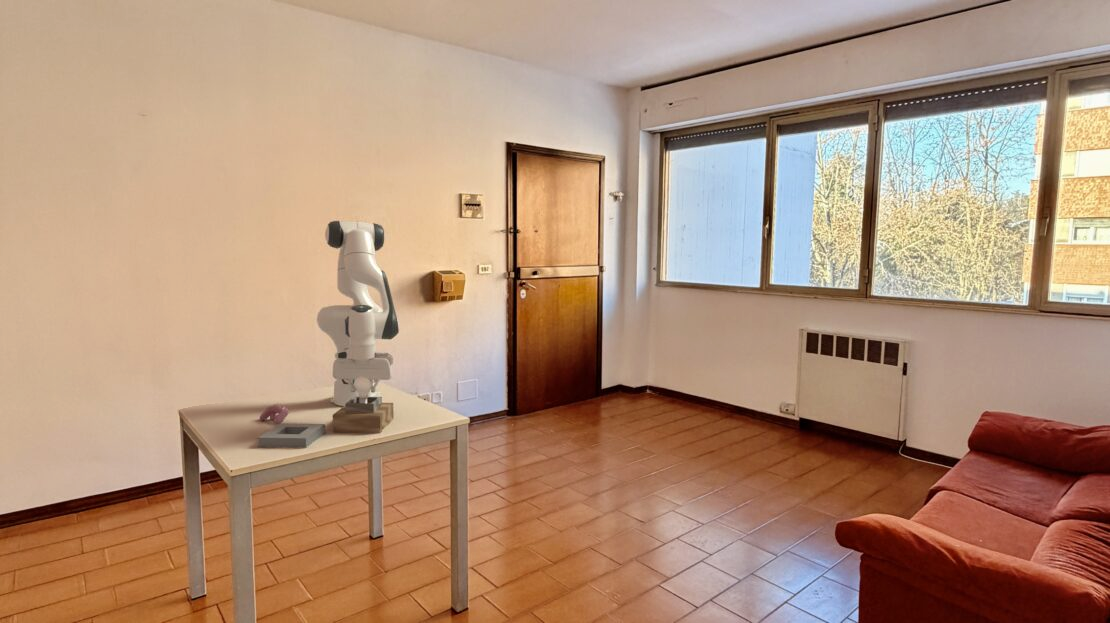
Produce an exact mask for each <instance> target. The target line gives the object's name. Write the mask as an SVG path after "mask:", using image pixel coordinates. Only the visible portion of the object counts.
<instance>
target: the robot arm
mask: <svg viewBox="0 0 1110 623" xmlns="http://www.w3.org/2000/svg"><path fill="white" fill-rule="evenodd" d="M324 237H325V238H324V239H325V240H326V244H327V245H328V246H329V247H330V248H333V249H337V250H338V249H339V253H338V258H337V259H338V260H337V274H336V275H337V278H336V280H337V281H336V282H337V284H336V285H337V290H338V292H339V293H341V294H342V295H344V296H345V297H348V298H350V299H352V302H353V304H350V305H349V304H348V305H347V304H345V305H343V304H342V305H341V304H339V305H336V304H334V305H329V306H324V307H322V308H321V309H320V310H319V311H318V313H317V317H316V323H317V326H318V328H319V329H320V331H321V332H323V333H324V334H326V335H327V336H329V337H330V339H331V340H332V342H333V344H334V345H335V348H336V352H335V353H334V358H335V359H334V361H333V364H332V377H333V379H335V381H334V383H333V386H334V387H333V397H332V398H330V400H329V401H330V403H333V404H335V405H337V406H340V407H344V406H345V404H346V403H347V402H348V401H350V400H351V399H352V398H354V397H359V395H358V391H357V390H356V389H355V387H354V380H355V379H357V378H358V377H365V378H367V379H369V380H373V386H372V387H371V390H370V391H369V394H368V397H381V395H382V392H381V391H380V390H377V386H378V385H379V383H380V381H384V380H385V381H389V380H391V379H392V378H393V377H394V369H393V364H394V363H393V362H394V357H393V356H392V355H391V353H388V352H377V342H376V340H389V341H391V340H392V339H393V338H395V337H396V336H397V335H398V334H399V331H400V320H399V318H398V316H397V312H396V309H395V305H394V302H393V301H394V300H393V297H392V292H391V288H390V285H389V281H388V278H387V275H386V272H385V271H384V270H382V269H380V267H379V266H378V264H377V259H376V252H377V251H379V250H380V249H382V248H383V247H384V245H385V242H386V233H385V229H384V227H383V226H382V225H381V224H378V223H376V222H375V223H374V222H373V223H370V222H365V221H359V220H358V221H357V220H356V221H351V220H350V221H349V220H348V221H347V220H345V221H344V220H343V221H340V220H332V221H330V222H329V223H327V226H326V228H325V231H324ZM368 286H369V287H372V288H373V289H375V290H376V291H377V292H378V294H379V298H380V302H381V307H380V305H378V304H376V303H375V301H374V300H373V298H372V297H371V295H370V293H369V288H368ZM380 394H381V395H380Z"/></svg>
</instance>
